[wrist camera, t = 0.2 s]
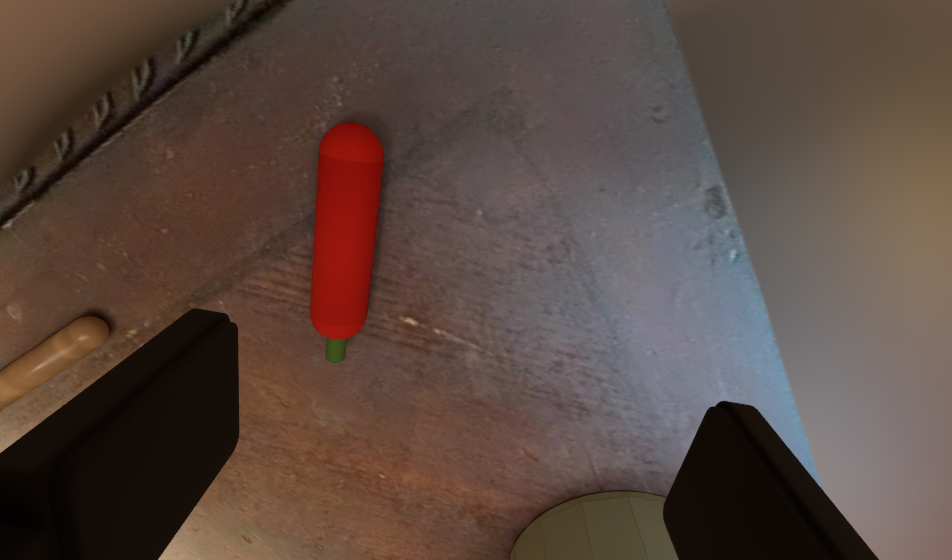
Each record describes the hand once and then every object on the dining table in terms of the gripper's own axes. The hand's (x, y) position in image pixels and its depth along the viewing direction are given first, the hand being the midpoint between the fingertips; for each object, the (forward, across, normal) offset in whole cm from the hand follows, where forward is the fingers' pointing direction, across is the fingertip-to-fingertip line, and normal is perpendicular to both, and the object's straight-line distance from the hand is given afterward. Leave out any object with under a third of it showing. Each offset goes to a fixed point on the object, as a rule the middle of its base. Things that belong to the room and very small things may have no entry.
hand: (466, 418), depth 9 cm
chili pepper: (+15, +6, +2) cm, 17 cm away
